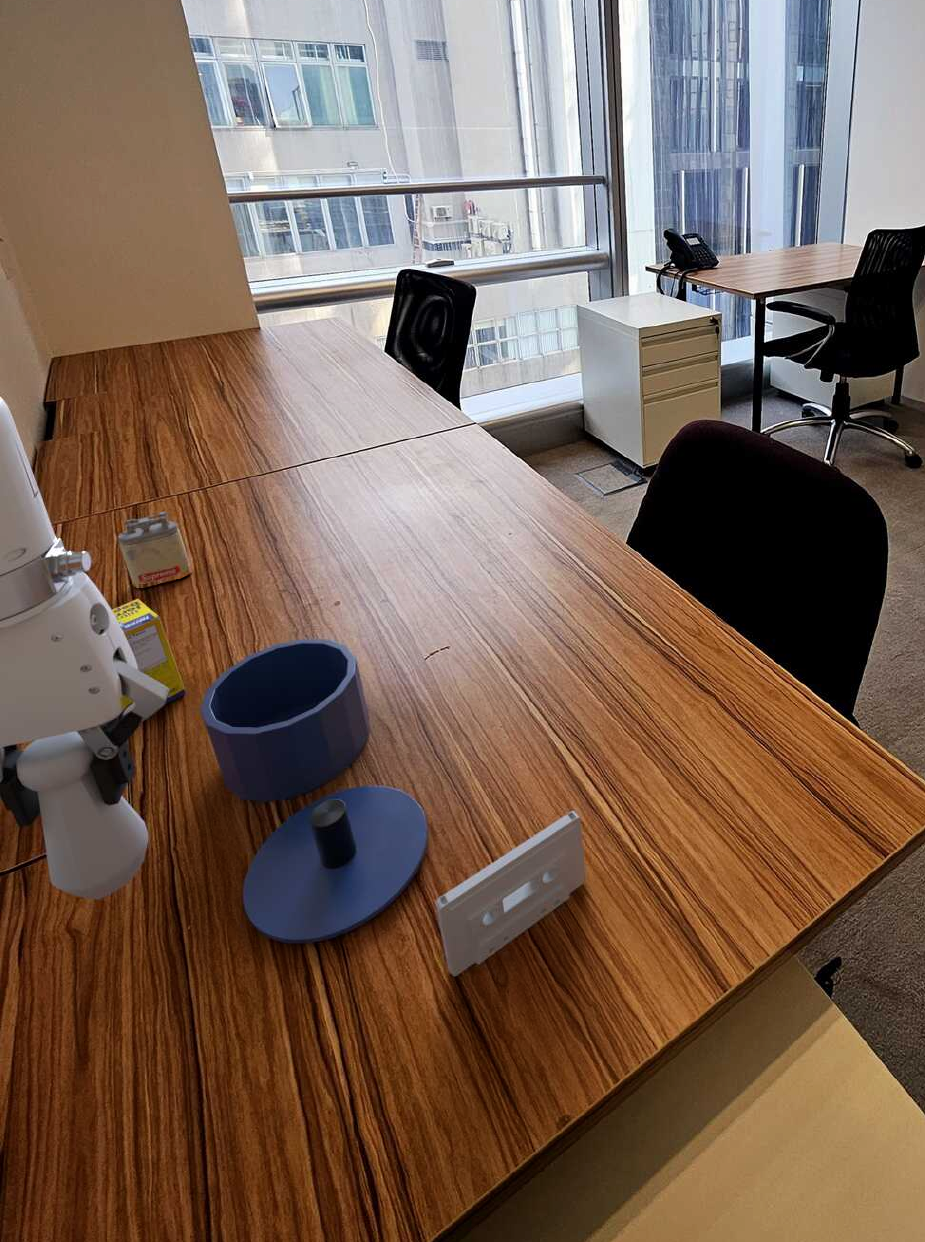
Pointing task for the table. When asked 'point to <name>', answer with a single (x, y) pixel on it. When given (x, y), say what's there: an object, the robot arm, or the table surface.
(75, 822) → the salt shaker
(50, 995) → the table surface
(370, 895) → the pot lid
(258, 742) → the pot
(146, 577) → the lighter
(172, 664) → the supplement box
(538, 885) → the cassette
